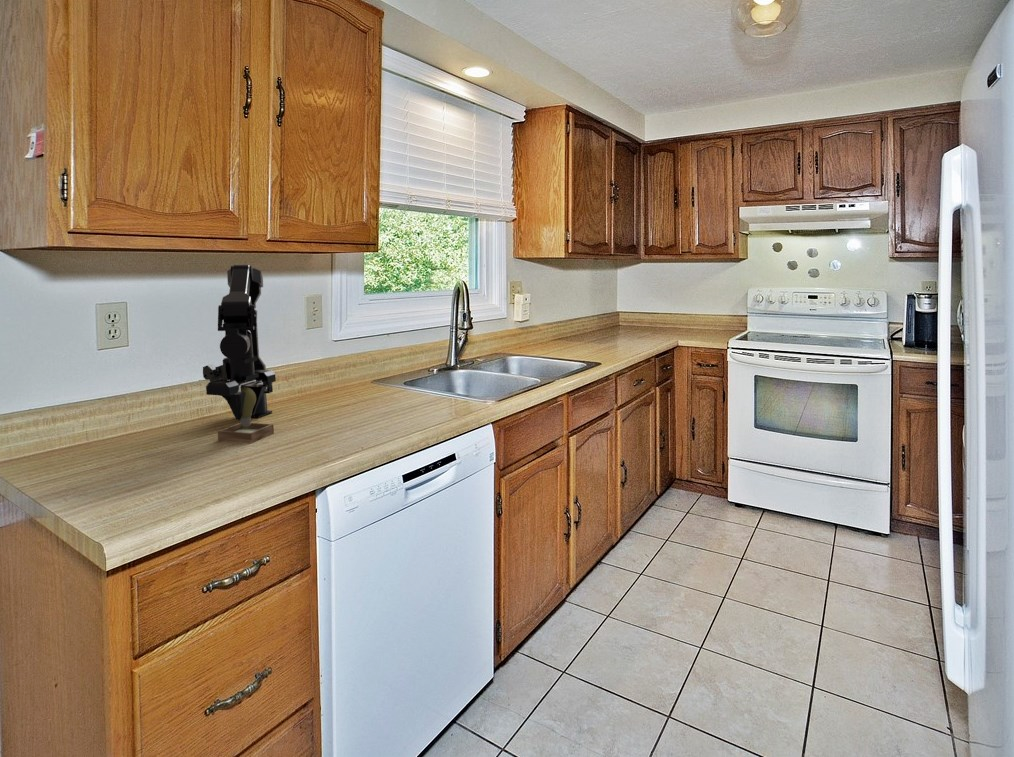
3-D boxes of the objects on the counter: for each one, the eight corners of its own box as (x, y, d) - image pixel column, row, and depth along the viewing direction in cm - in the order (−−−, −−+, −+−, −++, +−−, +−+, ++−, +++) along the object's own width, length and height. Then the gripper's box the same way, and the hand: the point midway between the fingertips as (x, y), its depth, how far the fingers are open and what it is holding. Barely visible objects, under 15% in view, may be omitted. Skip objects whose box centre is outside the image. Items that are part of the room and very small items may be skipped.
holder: (242, 431, 160) (241, 422, 159) (274, 433, 158) (273, 424, 157) (218, 440, 151) (217, 431, 151) (251, 443, 149) (250, 433, 149)
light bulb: (234, 425, 156) (230, 385, 154) (258, 423, 158) (255, 383, 156) (232, 431, 150) (229, 389, 149) (258, 429, 152) (255, 388, 151)
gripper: (236, 347, 162) (241, 406, 164) (182, 357, 144) (189, 424, 147) (274, 348, 159) (279, 409, 162) (225, 359, 141) (230, 427, 144)
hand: (245, 417), depth 154 cm, fingers closed on light bulb, 5 cm apart
